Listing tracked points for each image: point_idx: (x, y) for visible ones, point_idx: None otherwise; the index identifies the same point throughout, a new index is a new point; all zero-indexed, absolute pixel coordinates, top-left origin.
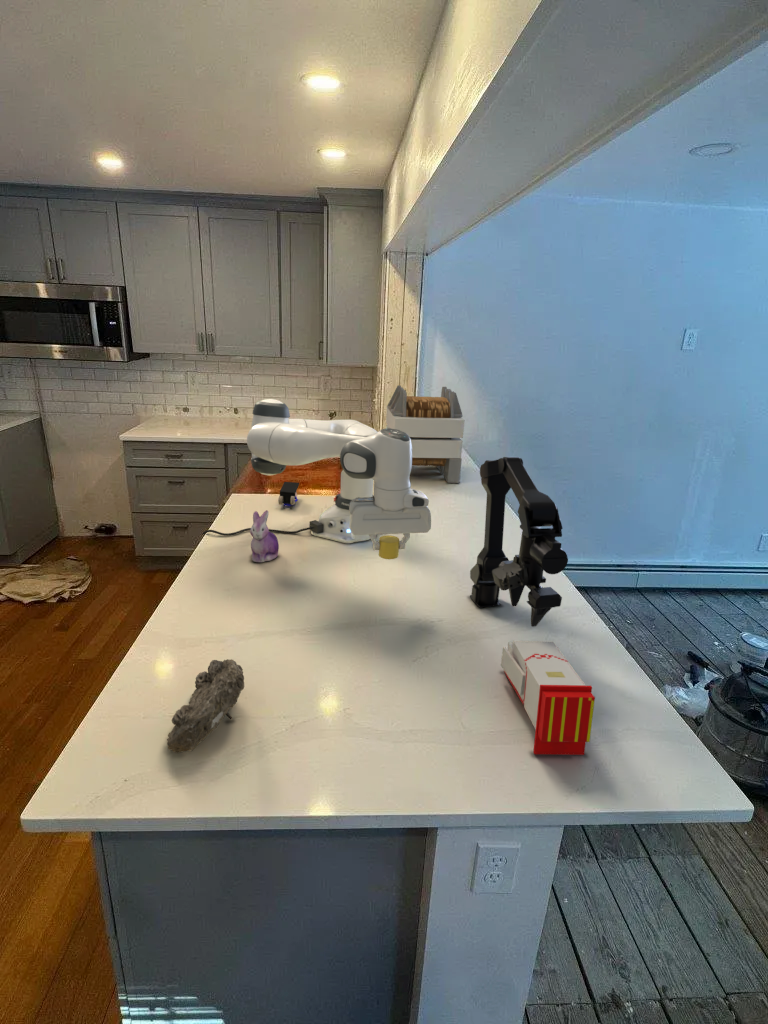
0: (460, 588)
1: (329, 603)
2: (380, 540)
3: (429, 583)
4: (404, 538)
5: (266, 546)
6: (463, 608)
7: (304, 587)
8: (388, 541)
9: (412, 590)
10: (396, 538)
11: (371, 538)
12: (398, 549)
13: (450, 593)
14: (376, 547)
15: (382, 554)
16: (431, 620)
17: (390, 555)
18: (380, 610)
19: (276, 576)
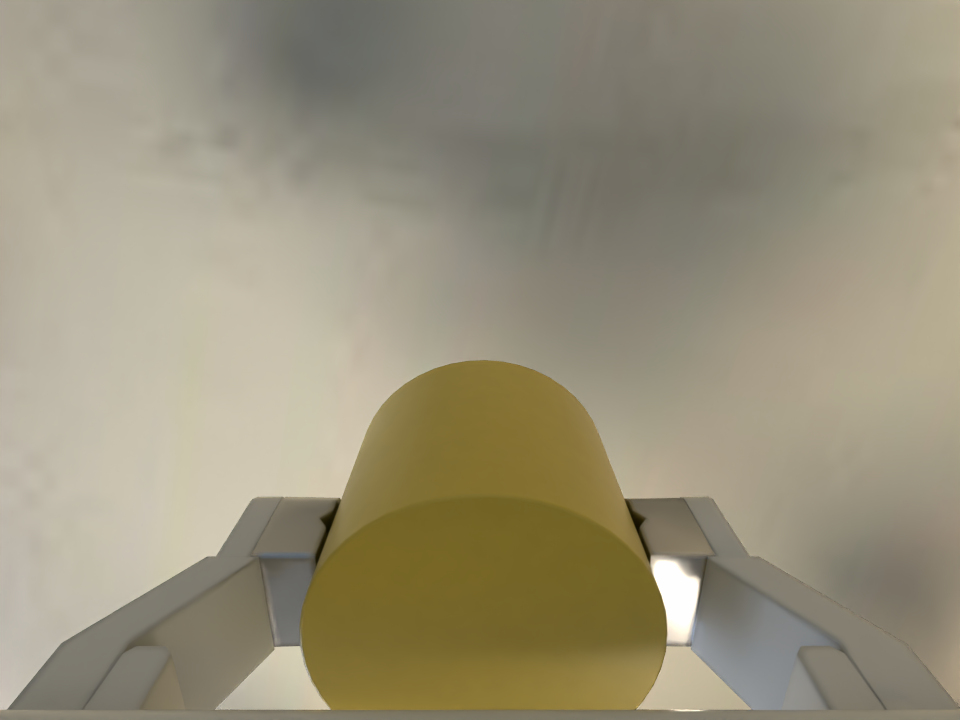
0: (30, 474)
1: (756, 402)
2: (662, 611)
3: (195, 536)
4: (197, 645)
5: None
6: (23, 267)
7: (830, 558)
8: (527, 558)
9: (295, 480)
10: (347, 660)
11: (881, 640)
12: (351, 476)
13: (89, 431)
14: (690, 519)
15: (589, 424)
16: (228, 154)
17: (486, 383)
18: (505, 301)
19: (924, 658)
